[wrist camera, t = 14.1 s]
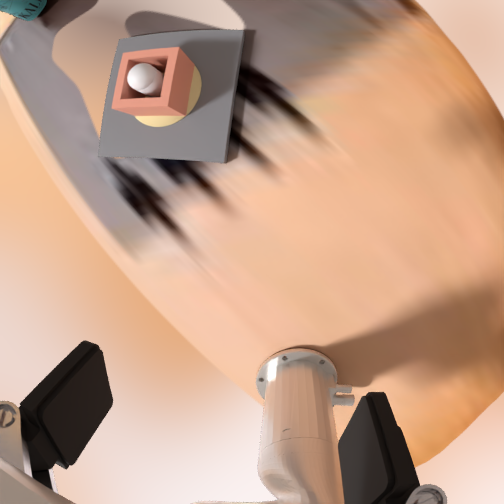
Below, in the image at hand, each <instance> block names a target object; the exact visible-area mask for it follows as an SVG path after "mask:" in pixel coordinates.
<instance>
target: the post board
mask: <svg viewBox="0 0 504 504" xmlns="http://www.w3.org/2000/svg"><path fill="white" fill-rule="evenodd" d="M244 37H245V34H244V30H192V31H177V32H166V33H157V34H149V35H142V36H136V37H130V38H124V39H119V42H118V46H117V50H116V53H115V57H114V62H113V66H112V70H111V75H110V79H109V84H108V89H107V94H106V100H105V107H104V112H103V119H102V126H101V133H100V142H99V151H98V157H135V158H161V159H178V160H192V161H205V162H216V163H226V161H227V153H228V145H229V138H230V130H231V123H232V115H233V108H234V101H235V94H236V88H237V81H238V74H239V68H240V62H241V55H242V49H243V43H244ZM171 47H180V49H181V50H182V51H183V52H184V53H185V54H186V55H187V56H188V58H189V59H190V60H191V61H192V62H193V63H194V64H195V66H194V72H193V77H192V83H191V88H190V94H189V100H188V107H187V113H186V116H134V115H130V114H127V113H124V112H121V111H118V110H114V109H111V108H112V102H113V97H114V91H115V86H116V81H117V77H118V72H119V68H120V63H121V59H122V55H123V53H126V52H133V51H141V50H149V49H159V48H171ZM164 75H165V73H161V72H160V71H159V70H157V69H156V68H154V67H153V66H152V65H150V64H147V63H140V64H137V65H135V66H134V67H133V68H132V69H131V70H130V71H129V73H128V77H127V79H128V83H129V85H130V86H131V87H132V88H133V89H135V90H137V91H139V92H141V93H143V94H145V95H146V97H145V98H156V97H161V91H162V85H163V80H164Z"/></svg>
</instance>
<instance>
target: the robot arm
mask: <svg viewBox="0 0 504 504" xmlns="http://www.w3.org/2000/svg"><path fill="white" fill-rule="evenodd" d="M256 387H257V390H258V392H259V394H260V395H261V397H262V398H263V399H264V410H263V420H262V431H261V439H260V440H261V441H260V449H259V457H258V474H259V477H260V479H261V481H262V483H263V484H264V486H265V487H266V488H267V489H268V490H269V491H270V492H271V493H272V494H273V495H274V496H275V497H276V498H277V499H278V500H275V501H266V502H221V501H200V502H195V503H192V504H447V497H446V495H445V493H444V491H443V490H442V489H441V488H439V487H437V486H435V485H431V484H428V485H427V484H426V485H422V486H420V483H419V480H418V477H417V474H416V471H415V468H414V464H413V461H412V458H411V455H410V452H409V450H408V447H407V444H406V441H405V438H404V435H403V432H402V430H401V428H400V427H399V426H397V423H396V420H395V418H394V415H393V412H392V409H391V407H390V404H389V402H388V399H387V396H386V394H385V393H384V392H368V393H367V395H366V396H363V397H362V398H361V400H360V402H359V404H358V406H357V408H356V410H355V412H354V414H353V416H352V418H351V420H350V421H349V423H348V425H347V427H346V429H345V431H344V433H343V434H342V436H341V438H340V440H339V442H338V439H337V432H336V426H335V419H334V413H333V407H334V405H341V406H353V404H354V400H355V398H354V395H345V394H343V395H336V393H337V392H342V393H351V391H352V385H347V384H343V385H339V384H338V383H337V372H336V368H335V366H334V364H333V362H332V361H331V360H330V359H329V358H328V357H326V356H325V355H324V354H322V353H320V352H318V351H314V350H311V349H303V348H297V349H289V350H284V351H281V352H278V353H276V354H274V355H272V356H271V357H269V358H268V359H267V360H265V362H264V363H263V364H262V365H261V366H260V368H259V370H258V373H257V377H256ZM112 404H113V397H112V394H111V389H110V386H109V381H108V376H107V372H106V367H105V362H104V356H103V352H102V350H100V348H99V346H98V345H97V344H94V343H91V342H88V341H83V342H81V343H80V344H79V345H78V346H77V347H76V348H75V349H74V350H73V351H72V352H71V353H70V354H69V355H68V356H67V357H66V358H64V360H62V361H61V362H60V363H59V365H57V366H56V368H54V369H53V370H52V371H51V372H50V373H49V374H48V375H47V376H46V377H45V378H44V379H43V380H42V381H41V382H40V383H39V384H38V386H36V387H35V388H34V389H33V391H32V392H31V393H30V394H29V395H28V396H27V397H26V398H25V399H24V400H23V401H22V402H21V403H20V405H21V406H20V407H19V408H18V407H17V406H16V405H15V404H13V403H12V402H9V401H0V504H75V503H73V502H72V501H70V500H68V499H66V498H64V497H63V496H61V495H59V494H58V490H57V487H56V482H55V478H54V474H53V469H52V467H53V466H54V464H55V463H56V464H57V465H59V466H61V467H63V468H65V469H67V468H68V467H69V465H73V464H74V463H75V462H76V460H77V458H78V457H79V456H80V454H81V453H82V451H83V450H84V448H85V446H86V445H87V443H88V442H89V440H90V439H91V437H92V436H93V434H94V433H95V431H96V430H97V428H98V426H99V425H100V423H101V422H102V420H103V419H104V417H105V416H106V414H107V413H108V411H109V410H110V408H111V407H112Z"/></svg>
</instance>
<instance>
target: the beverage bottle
mask: <svg viewBox="0 0 504 504" xmlns="http://www.w3.org/2000/svg"><path fill="white" fill-rule="evenodd" d="M46 2H47V0H0V11H1V12H2V11H3V12H6V13H9V15H13V16H14V17H15V16H17V17H19V19H21V18H22V19H24V20H25V21H26V20H27V21H31V20H33V19H34V18H36V17H37V16H38V15H39V14H40V12H41V11H42V10H43V8H44V7H45V5H46Z"/></svg>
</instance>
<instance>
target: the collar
mask: <svg viewBox="0 0 504 504" xmlns="http://www.w3.org/2000/svg"><path fill="white" fill-rule="evenodd" d="M140 63H147V64H150V65H152V66H153V67H154V68H156V69H157V70H159V71H160V72H161V73H165V75H164V80H163V85H162V91H161V97H156V98H145V97H146V95H145V94H143V93H141V92H139V91H137V90H135V89H133V88H132V87H131V86H130V85H129V83H128V79H127V77H128V73H129V71H130V70H131V69H132V68H133V67H134V66H135V65H137V64H140ZM194 66H195V64H194V63H193V62H192V61H191V60H190V59H189V58H188V56H187V55H186V54H185V53H184V52H183V51H182V50H181V49H180V47H171V48H159V49H149V50H141V51H133V52H126V53H123V55H122V59H121V63H120V68H119V72H118V77H117V81H116V86H115V91H114V97H113V102H112V108H111V109H114V110H118V111H121V112H124V113H127V114H130V115H134V116H186V113H187V107H188V100H189V94H190V88H191V83H192V77H193V72H194Z"/></svg>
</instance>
